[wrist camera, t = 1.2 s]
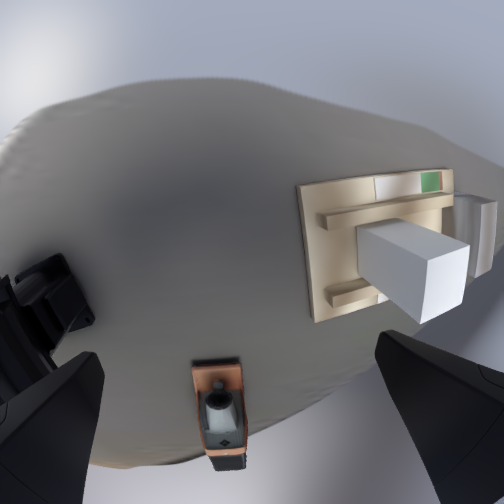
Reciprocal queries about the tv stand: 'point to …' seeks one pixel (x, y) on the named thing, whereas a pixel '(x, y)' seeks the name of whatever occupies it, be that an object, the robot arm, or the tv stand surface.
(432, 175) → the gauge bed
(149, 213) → the tv stand surface
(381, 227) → the white rectangular block
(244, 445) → the electronic device
